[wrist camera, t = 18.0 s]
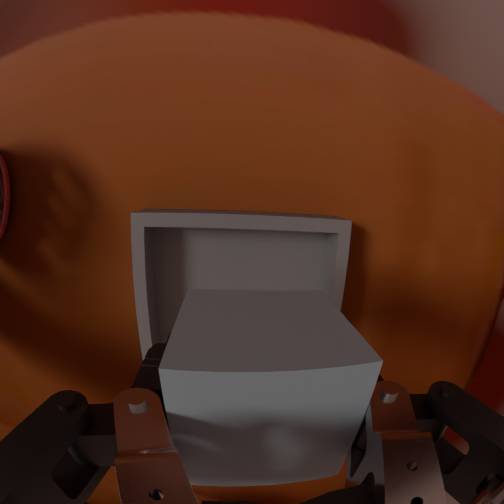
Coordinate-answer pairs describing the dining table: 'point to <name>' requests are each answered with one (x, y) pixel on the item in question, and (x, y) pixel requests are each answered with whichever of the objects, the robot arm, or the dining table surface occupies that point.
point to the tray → (230, 258)
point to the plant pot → (4, 195)
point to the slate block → (264, 386)
